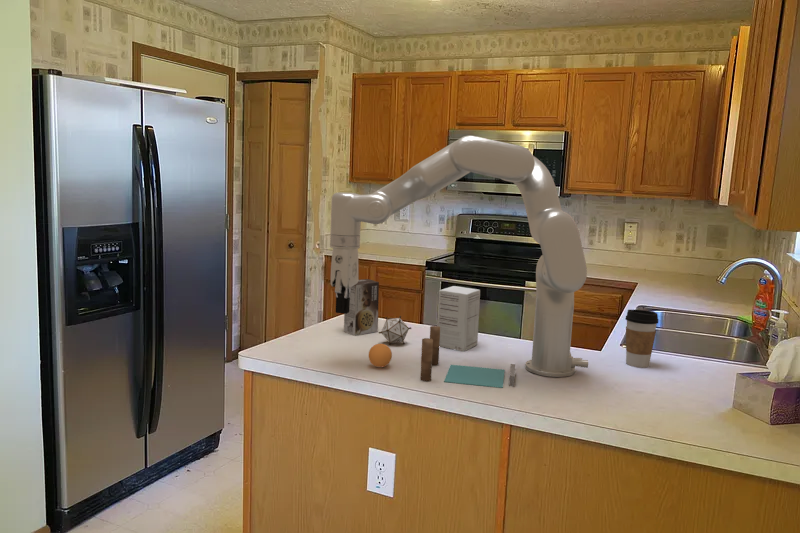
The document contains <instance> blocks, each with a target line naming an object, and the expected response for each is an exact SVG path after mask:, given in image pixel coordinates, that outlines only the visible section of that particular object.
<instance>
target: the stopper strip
mask: <svg viewBox="0 0 800 533" xmlns="http://www.w3.org/2000/svg"><path fill="white" fill-rule="evenodd" d="M515 377H516V363H510V367H509V380H508V381H509V383H508V386H509V387H515Z"/></svg>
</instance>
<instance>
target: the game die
mask: <svg viewBox="0 0 800 533" xmlns="http://www.w3.org/2000/svg"><path fill="white" fill-rule="evenodd" d="M384 318H385V321H384V325H383V327H382V329H381V331H378V334H382V336H383V337H384V338H385V339H386V340H387V342H388V346H389V345H390V346H391V344H394V343H402V344H404V345H405V343H406V342H405V338H406V336H407V334H408V332H409V331H410V330H412V327H411V326H410V327H409V326H407V324H406V323H405V322H404V321H403V319H401V318H402V315H399V317H396V318H394V317H393V318H388V316H387V317H386V316H385V317H384Z"/></svg>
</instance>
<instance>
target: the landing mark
mask: <svg viewBox="0 0 800 533" xmlns="http://www.w3.org/2000/svg"><path fill="white" fill-rule="evenodd" d="M504 380H505V369H502V368H501V369H500V368H492V367H491V368H490V367H481V366H471V365H469V366H468V365H461V364H450V365H449V368H448V370H447V373H446V376H445V378H444V380H443V382H444V383H450V384H459V385H468V386H469V385H470V386H478V387H488V388H498V389H503V388H504Z"/></svg>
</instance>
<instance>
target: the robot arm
mask: <svg viewBox="0 0 800 533" xmlns="http://www.w3.org/2000/svg"><path fill="white" fill-rule="evenodd" d="M550 172H551V171H549V169H548V168H547V166H546V165H545V164H544V163H543V162H542V161H541V160H539V158H537V157H536V156H534V155H533V153H532V152H531V151H530V150H529V148H526V147H525V146H522V145H519V144H513V143H510V142H509V143H508V142H504V141H499V140H495V139H494V140H493V139H489V138H485V137H481V136H477V135H473V134H472V135H471V134H470V135H464V136H461V137H460V138H458V139H457V140H455V141H453V142H452V143H450V144H448V145H446V146H445V147H443V148H441V149H440V150H439V151H437V152H435V153H434V154H432V155H430V156H428V157H427V158H425V159H423V160H422V161H420V162H419V163H416V164H415V165H413V166H411V168H410V169H408V170H407V171H406V172H405V173H403V174H402V175H401V176H399V177H398V178H396V179H394V180H392V181H391V182H390V183H388V184H386V185H384V186H383V187H381V188H379V189H378V190H376V191H374V192H372V193H369V194H359V193H355V192H334V193H333V194H332V196H331V206H330V207H331V208H330V210H331V211H330V235H329V236H330V237H329V238H330V239H329V240H330V241H329V247H330V248H332V252H331V263H330V264H331V265H330V285H331V287H332V288H334V293H335V313H336V314H343V315H344V314H347V313H348V312H349V307H350V289H351V287H352V286H354V285H355V284H357V283H358V280H359V250H358V249H360V247H361V226H362V225H361V223H365V224H367V223H368V224H370V225H371V224H373V225H380V224H383V223H385V222H387V220H388V219H389V218H390V217H391V216H392V215H394V214H396V213H398V212H400V211H401V210H402V209H405V208H406V207H408V206H409V205H411V204H413V203H416V202H417V201H420V200H423V199H426V198H428V197H430V196H432V195H435V194H437V193H438V192H439V191H441V190H442V189H444V188H446V187H448V186H450V185H452V184H453V183H454V182H457V181H458V180H460V179H462V178H463V177H465V176H466V175H468V174H470V173H473V174H477V175H482V176H486V177H492V178H495V179H501V180H502V181H505V182H509V183H510V182H511V183H513V184H514V185H515V186H516V187H517V189H518V190H519V192H520V194H521V197H522V201H523V204H524V209H525V212H526V216H527V220H528V221H527V222H528V227H529V232H530V235H531V237H532V239H533V240H534V241H535V243H537V244H539V245H540V249H541V253H542V255H540V257H539V259H538V261H537V263H536V266H535V267H536V268H535V284H536V285H535V288H536V291H535V292H536V293H535V294H536V296H535V310H534V322H533V323H534V324H533V325H534V326H533V336H532V337H533V338H532V351H531V359H529V360H527V361H526V362H525V363H524V365H525V366H524V367H525V369H526V370H527V371H529V372H530V373H532V374H536V375H540V376H544V377H548V378H549V377H550V378H564V377H565V378H566V377H570V376H572V375H575V372H576V367H578V368H579V367H580V368H583V369H584V368H586V369H589V360H588V359H583V358H581V357H574V356H572V353H571V345H572V344H571V343H572V342H571V341H572V335H573V334H572V332H573V331H572V330H573V320H574V319H573V318H574V311H575V309H574V308H575V307H574V306H575V292H577V291H579V290H580V289H582V287H583V286H584V284H585V282H586V280H587V277H588V269H587V268H588V267H587V263H586V258H585V253H584V248H583V244H582V240H581V235H580V232H579V227H578V225H577V224H576V221H575V220H574V218H573V217H572V216H571V215H570V214H569V213H568V212H566V211H564V210H562V209H563V208H562V205H561V201H560V198H559V197H560V196H559V194H558V191H557V187H556V184H555V182H554V181H555V180H554V178H553V176H552V175H551V173H550Z"/></svg>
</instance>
